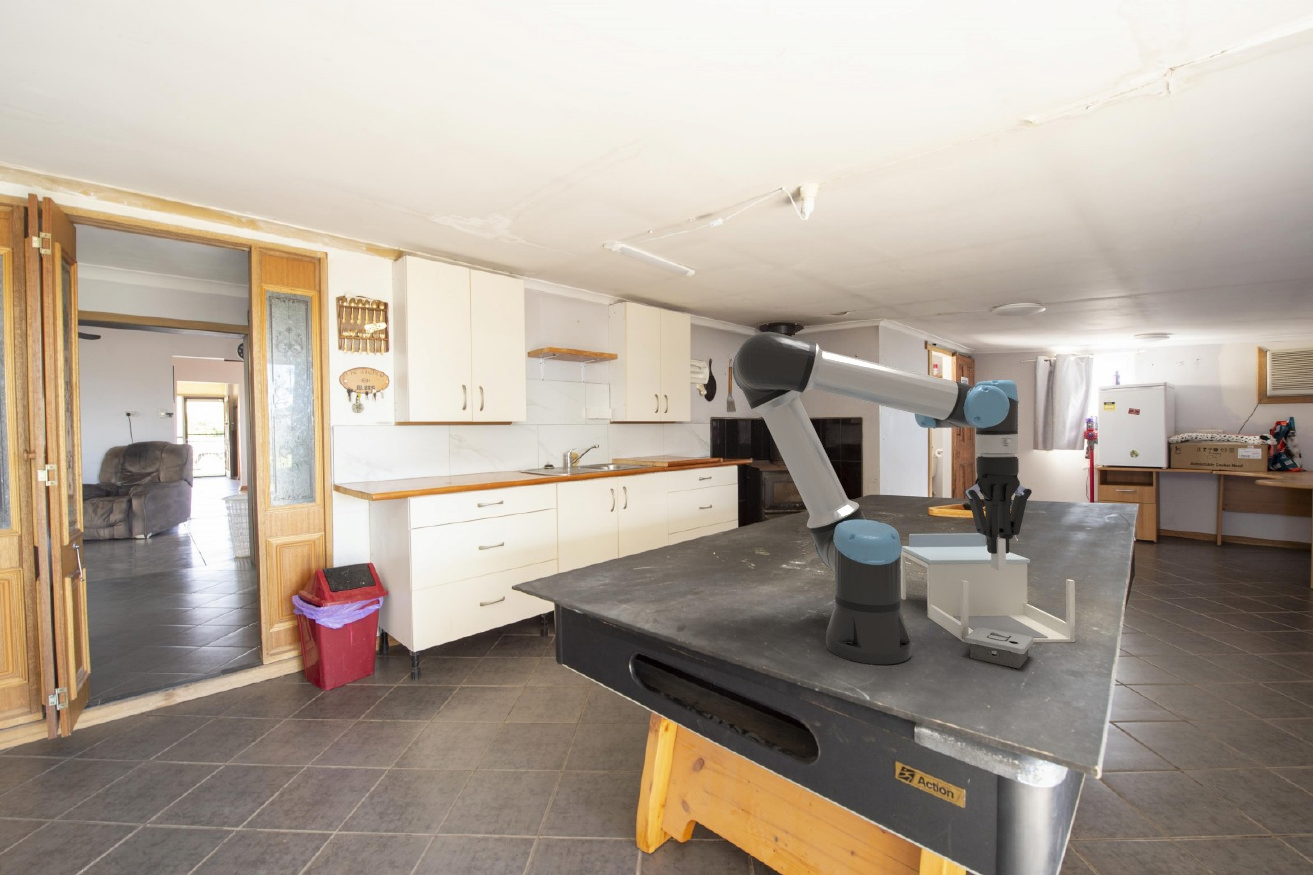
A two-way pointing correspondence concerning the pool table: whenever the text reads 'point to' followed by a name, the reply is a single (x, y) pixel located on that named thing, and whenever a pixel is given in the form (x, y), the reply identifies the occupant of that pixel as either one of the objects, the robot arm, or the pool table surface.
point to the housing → (989, 601)
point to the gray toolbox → (999, 646)
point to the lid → (954, 549)
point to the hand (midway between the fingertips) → (998, 568)
